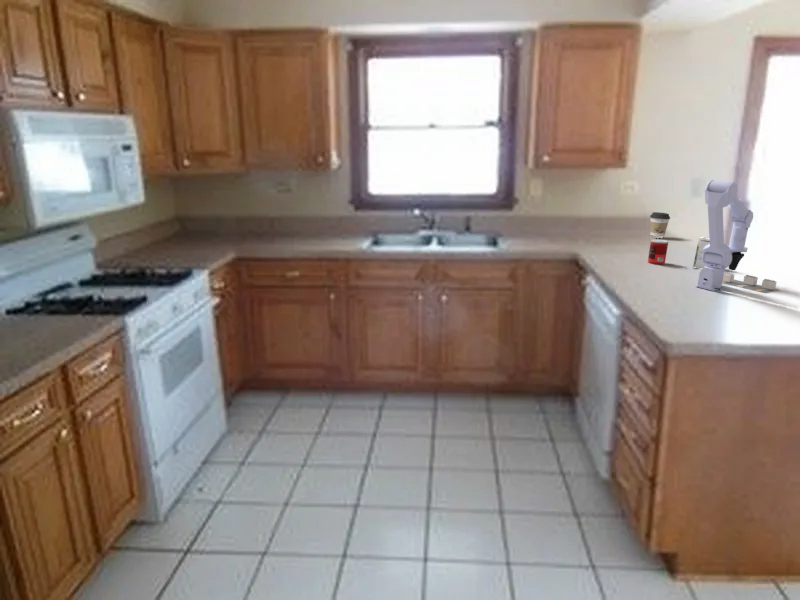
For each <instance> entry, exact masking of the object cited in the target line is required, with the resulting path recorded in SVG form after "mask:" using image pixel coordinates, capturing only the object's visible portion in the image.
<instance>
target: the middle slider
mask: <svg viewBox="0 0 800 600" xmlns="http://www.w3.org/2000/svg"><path fill="white" fill-rule="evenodd" d="M743 283H744V284H749V285H758V284H757V283H758V277H757V276H753V275H749V274H746V275H744V277H743Z"/></svg>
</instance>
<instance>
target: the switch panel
mask: <svg viewBox="0 0 800 600" xmlns="http://www.w3.org/2000/svg"><path fill="white" fill-rule="evenodd" d="M743 281H744V280H743ZM743 281H742V280H737V279H734V280H733V282H726V281H723V282H722V285H723V284H724V285H728V286H732V287H736V288H741V289H745V290H749V291H752V292H759V293H762V294H769V293H774V292H779V291H780V289H779V288H778V289H777V288H775V289H772V290H771V289H766V288H762V287H761V286H762V284H761V285H760V284H756V285H749V284H744V283H743Z"/></svg>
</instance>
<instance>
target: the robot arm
mask: <svg viewBox="0 0 800 600" xmlns="http://www.w3.org/2000/svg"><path fill="white" fill-rule="evenodd" d="M738 188H739V186H738V184H737V183H736V182H735V181H723V180H715V179H710V180H709V181H708V182H707V183H706V186H705V188H704V201H705V204H706V205H707V215H708V216H707V217H708V234H709V235H708V238H709V240H710V244H708V245H706V246H705V247H704V249H703V254H702V261H703V263H704V265H706V266H705V268H703V269H700V272H699V274H698V275H699V276H698V280H697V284H696V285H695V287H696V288H701V289H704V290H709V291H713V292H714V291H720V290H721V289H720V288H722V287H723V283H722V282H723V276H724V272H726V270H725V269H726V268H728V270H731V271H736V269H737V268H738V265H739V264H740V261H741V260H742V258H744V257H745V253H747V252H748V249H749V248H748V247H745V246H746V241H747V236H748V231H749V228H750V227H751V224H752V222H753V219H754V212H753V211H752V210H751V209H748V207H747V205H746V203H745V202H744V201H743V199H742V198H739V196H738ZM726 207H728V210H729V211H730V213H731V214H730V215H731V221H732V222H733V224H732V228H731V234H730V239H729V244H728V245H727V244H726V243H725V231H724V208H726Z"/></svg>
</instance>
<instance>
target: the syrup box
mask: <svg viewBox="0 0 800 600" xmlns="http://www.w3.org/2000/svg"><path fill="white" fill-rule="evenodd" d="M708 244H710V240H709V236H708V237H707V236H701V237H698V240H697V245H696V250H695V255H694V260H693V266H692V268H693V267H696V268H705V266H706V265H704V263H703V261H702V254H703V249H704V247H705V246H706V245H708Z"/></svg>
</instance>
